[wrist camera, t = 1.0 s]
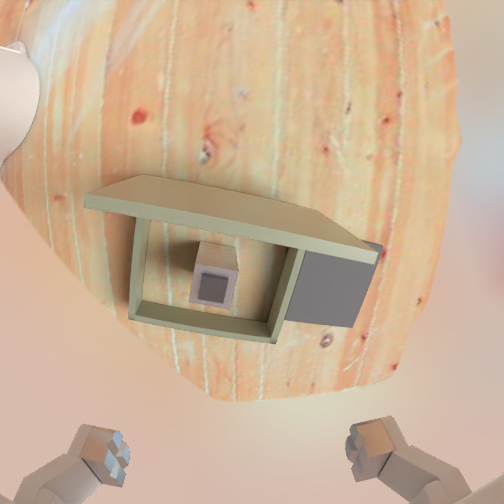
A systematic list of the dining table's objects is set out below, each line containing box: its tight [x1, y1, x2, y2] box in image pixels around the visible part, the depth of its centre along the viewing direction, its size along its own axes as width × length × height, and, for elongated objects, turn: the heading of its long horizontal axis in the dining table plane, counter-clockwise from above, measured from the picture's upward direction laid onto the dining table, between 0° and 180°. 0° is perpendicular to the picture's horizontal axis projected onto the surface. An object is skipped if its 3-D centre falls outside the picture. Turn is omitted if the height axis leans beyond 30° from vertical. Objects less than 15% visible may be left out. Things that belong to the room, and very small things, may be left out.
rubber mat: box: [284, 240, 383, 328], centre depth 36 cm, size 10×12×1 cm
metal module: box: [189, 241, 239, 309], centre depth 30 cm, size 4×4×8 cm
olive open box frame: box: [84, 174, 378, 344], centre depth 26 cm, size 18×16×16 cm
